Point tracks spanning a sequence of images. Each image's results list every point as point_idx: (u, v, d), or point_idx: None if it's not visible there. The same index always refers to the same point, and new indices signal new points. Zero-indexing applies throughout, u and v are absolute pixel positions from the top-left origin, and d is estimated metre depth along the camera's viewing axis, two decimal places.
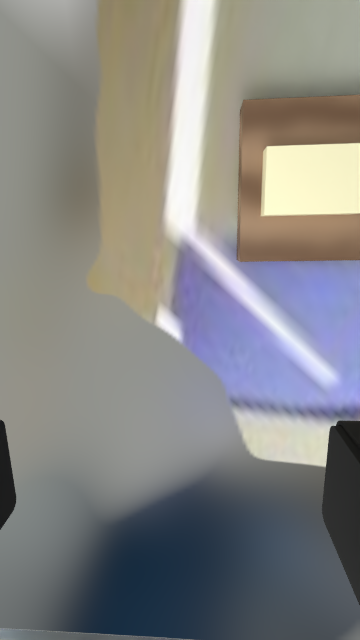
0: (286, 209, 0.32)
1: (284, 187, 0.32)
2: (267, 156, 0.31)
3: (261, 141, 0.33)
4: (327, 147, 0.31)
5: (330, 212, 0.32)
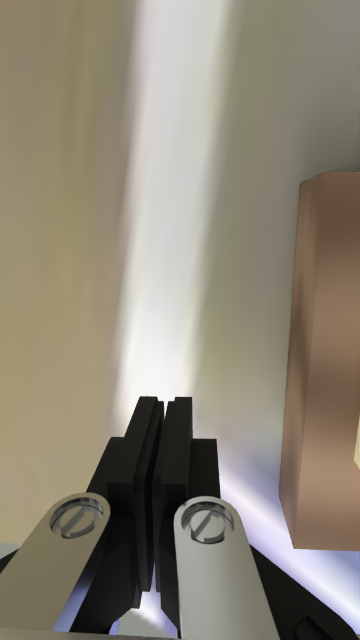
0: None
1: None
2: None
3: None
4: None
5: None
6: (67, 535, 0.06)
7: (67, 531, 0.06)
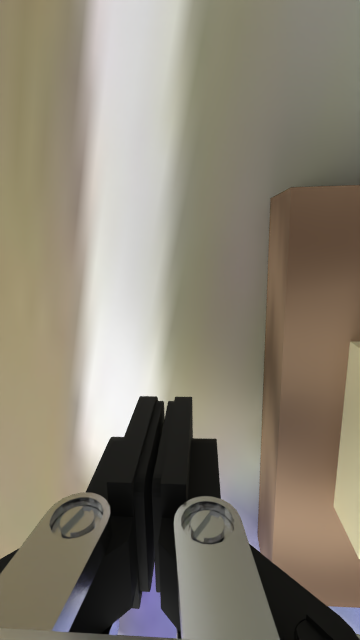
0: None
1: None
2: None
3: (347, 311, 0.10)
4: None
5: None
6: (67, 535, 0.06)
7: (67, 531, 0.06)
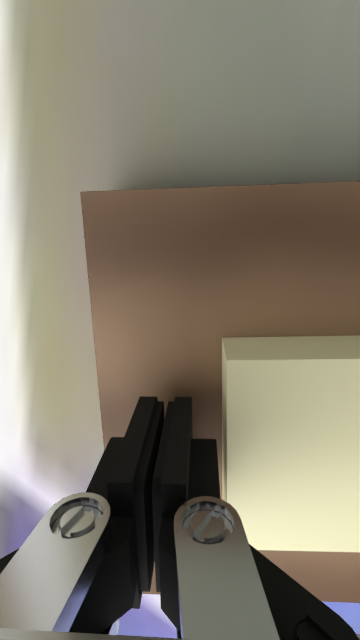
0: (297, 537, 0.10)
1: (290, 480, 0.10)
2: (229, 390, 0.09)
3: (148, 310, 0.11)
4: None
5: None
6: (67, 535, 0.06)
7: (67, 531, 0.06)
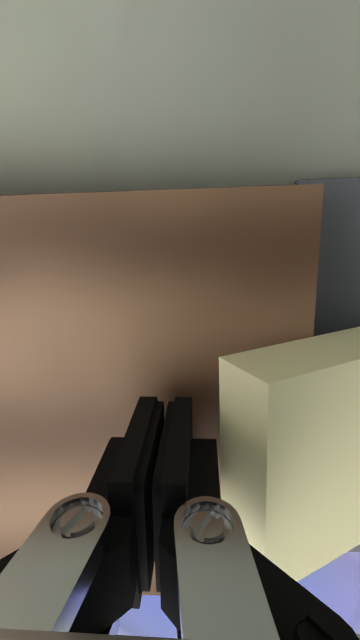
0: (323, 552, 0.09)
1: (320, 496, 0.09)
2: (270, 418, 0.08)
3: None
4: None
5: None
6: (67, 535, 0.06)
7: (67, 531, 0.06)
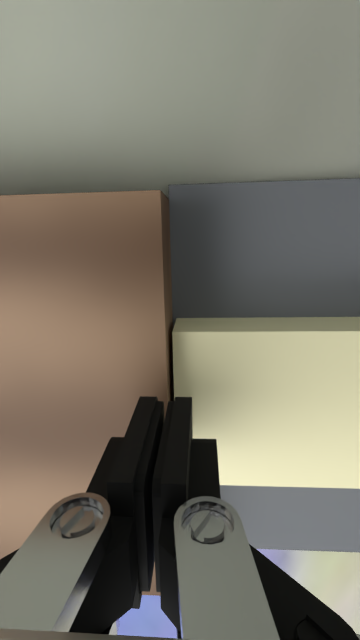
0: (231, 474, 0.13)
1: (224, 427, 0.12)
2: (175, 355, 0.12)
3: None
4: (335, 339, 0.11)
5: (343, 485, 0.13)
6: (67, 535, 0.06)
7: (67, 531, 0.06)
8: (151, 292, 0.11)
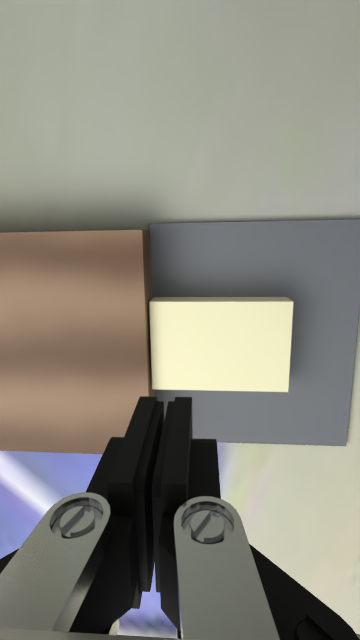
0: (182, 383, 0.23)
1: (177, 355, 0.22)
2: (151, 314, 0.22)
3: None
4: (234, 306, 0.21)
5: (244, 389, 0.23)
6: (67, 535, 0.06)
7: (67, 531, 0.06)
8: (137, 279, 0.21)
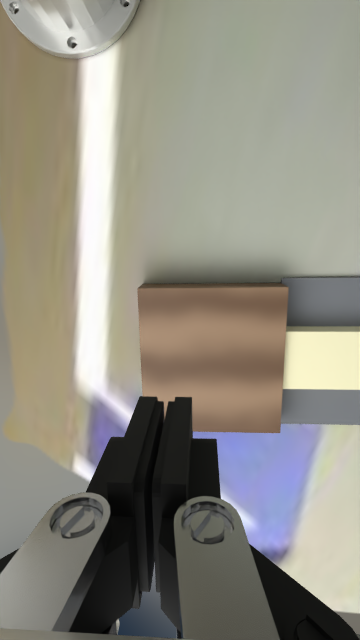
0: (303, 384, 0.34)
1: (302, 366, 0.34)
2: (286, 339, 0.33)
3: (158, 325, 0.33)
4: (342, 334, 0.33)
5: (345, 388, 0.34)
6: (67, 535, 0.06)
7: (67, 531, 0.06)
8: (282, 318, 0.32)
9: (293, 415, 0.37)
